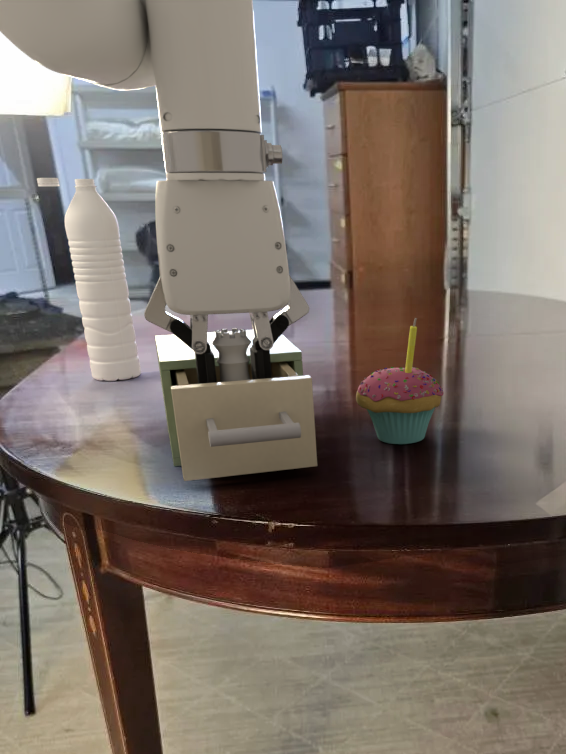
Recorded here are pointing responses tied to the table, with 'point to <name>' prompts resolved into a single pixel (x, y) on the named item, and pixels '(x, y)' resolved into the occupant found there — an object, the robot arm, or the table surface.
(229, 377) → the rook chess piece
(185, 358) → the cabinet
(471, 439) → the table surface
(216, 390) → the drawer
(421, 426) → the cupcake
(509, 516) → the table surface
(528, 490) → the table surface
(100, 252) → the water bottle
